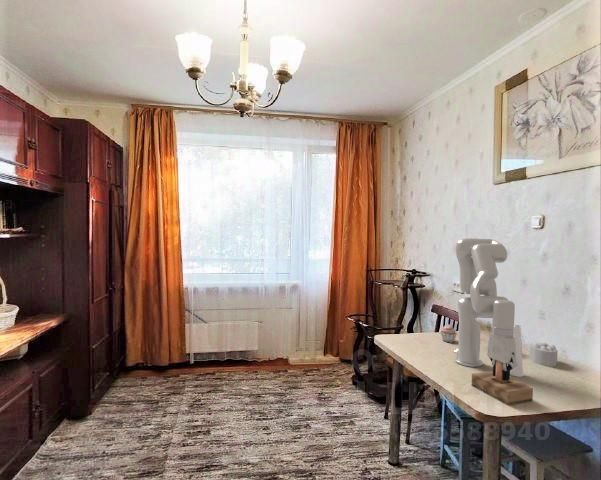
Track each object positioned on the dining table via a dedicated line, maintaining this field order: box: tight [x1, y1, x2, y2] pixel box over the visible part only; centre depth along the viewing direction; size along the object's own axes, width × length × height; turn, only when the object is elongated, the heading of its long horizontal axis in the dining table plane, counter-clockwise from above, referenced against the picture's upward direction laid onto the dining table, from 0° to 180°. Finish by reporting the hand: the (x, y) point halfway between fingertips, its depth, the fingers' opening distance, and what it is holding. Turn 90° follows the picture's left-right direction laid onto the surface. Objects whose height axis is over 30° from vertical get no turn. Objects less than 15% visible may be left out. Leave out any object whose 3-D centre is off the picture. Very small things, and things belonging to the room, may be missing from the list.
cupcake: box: [439, 323, 458, 343], centre depth 221 cm, size 9×9×10 cm
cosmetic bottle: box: [510, 324, 525, 378], centre depth 170 cm, size 6×6×22 cm
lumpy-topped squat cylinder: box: [529, 342, 559, 368], centre depth 188 cm, size 10×13×9 cm
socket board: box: [470, 370, 534, 406], centre depth 150 cm, size 18×12×5 cm, turn 18°
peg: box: [495, 360, 507, 384], centre depth 150 cm, size 4×4×12 cm
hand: (501, 377), depth 150 cm, fingers closed on peg, 3 cm apart
